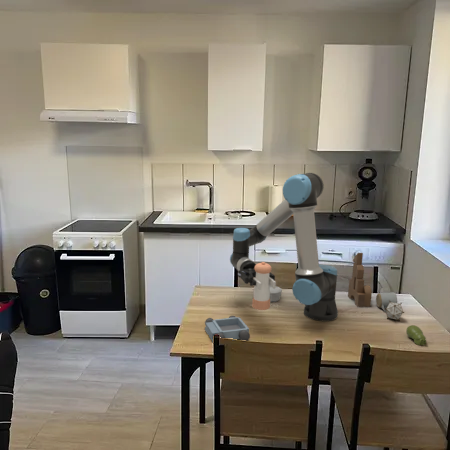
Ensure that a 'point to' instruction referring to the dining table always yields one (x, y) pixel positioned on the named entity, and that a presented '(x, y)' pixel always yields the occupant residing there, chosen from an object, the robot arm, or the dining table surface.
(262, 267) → the pepper shaker
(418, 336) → the green toy animal
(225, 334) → the chassis
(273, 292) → the ramekin
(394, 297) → the grey cylindrical jar
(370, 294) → the wooden toy
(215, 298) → the dining table surface
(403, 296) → the dining table surface
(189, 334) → the dining table surface
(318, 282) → the robot arm
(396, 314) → the game die
